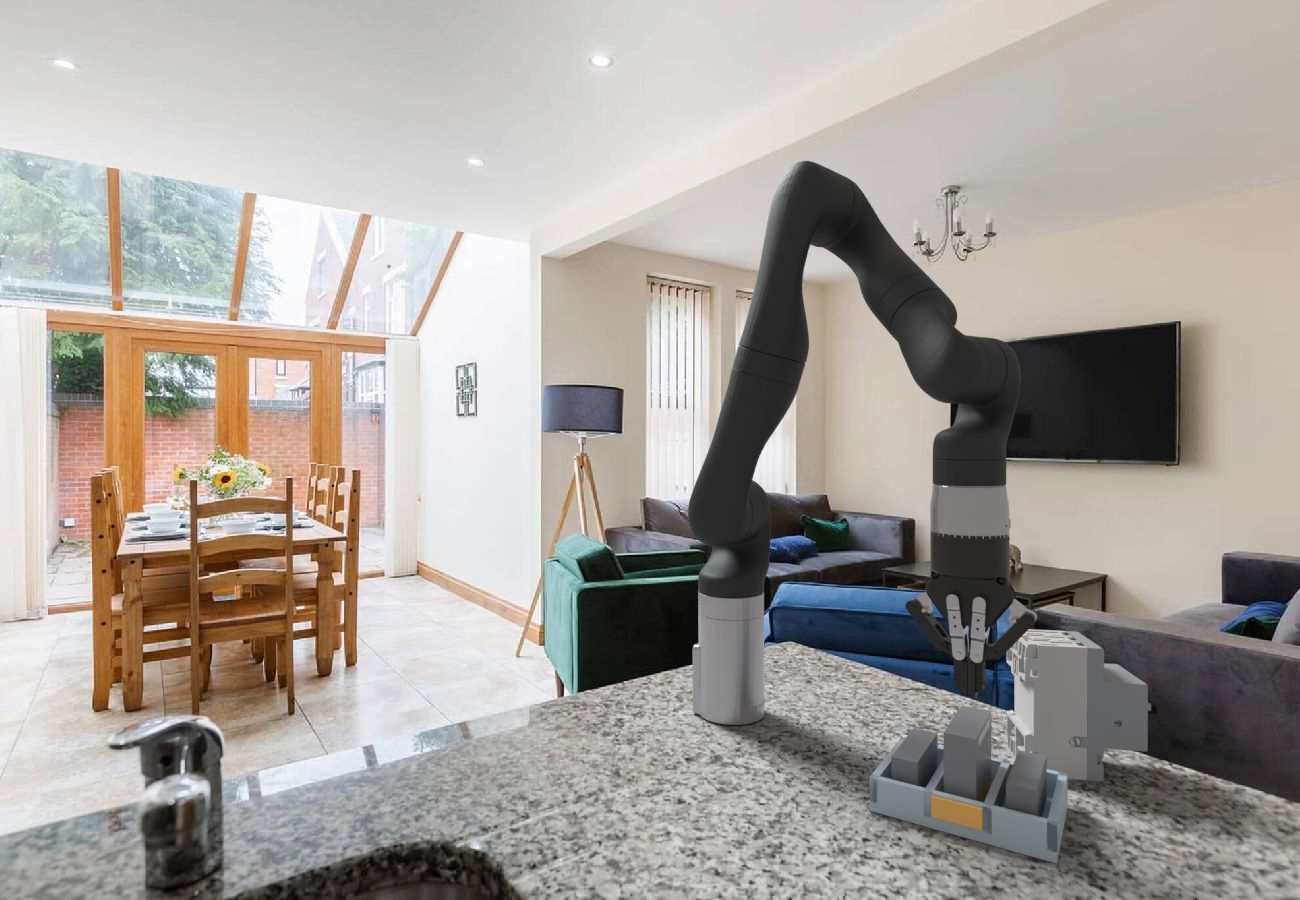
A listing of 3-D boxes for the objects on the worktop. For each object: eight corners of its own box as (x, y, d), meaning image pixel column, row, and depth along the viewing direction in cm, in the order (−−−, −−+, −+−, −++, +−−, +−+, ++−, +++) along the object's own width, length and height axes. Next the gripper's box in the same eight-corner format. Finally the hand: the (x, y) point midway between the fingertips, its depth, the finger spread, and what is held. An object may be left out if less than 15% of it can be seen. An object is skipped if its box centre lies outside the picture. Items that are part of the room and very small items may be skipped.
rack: (868, 811, 75) (868, 759, 75) (901, 766, 85) (901, 720, 85) (1056, 865, 65) (1056, 804, 65) (1067, 807, 75) (1067, 754, 75)
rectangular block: (943, 812, 72) (943, 732, 72) (961, 777, 80) (961, 705, 80) (976, 820, 71) (976, 739, 71) (991, 784, 78) (991, 710, 78)
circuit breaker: (1164, 786, 80) (1165, 651, 80) (1024, 775, 83) (1025, 644, 83) (1133, 757, 87) (1133, 634, 87) (1006, 748, 90) (1006, 628, 90)
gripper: (894, 528, 76) (894, 693, 76) (1036, 536, 68) (1037, 719, 68) (912, 521, 82) (913, 674, 82) (1044, 528, 74) (1045, 696, 74)
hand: (969, 694), depth 75 cm, fingers closed
